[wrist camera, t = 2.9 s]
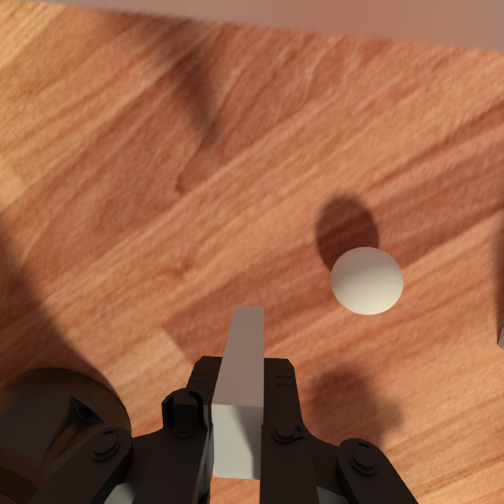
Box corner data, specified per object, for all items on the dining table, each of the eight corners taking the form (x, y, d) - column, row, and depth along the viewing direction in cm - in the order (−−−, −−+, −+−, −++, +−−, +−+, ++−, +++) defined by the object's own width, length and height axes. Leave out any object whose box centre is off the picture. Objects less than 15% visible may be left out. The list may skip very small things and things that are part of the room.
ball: (321, 297, 26) (337, 326, 20) (326, 240, 25) (344, 255, 19) (380, 298, 26) (411, 328, 20) (388, 241, 24) (424, 257, 19)
